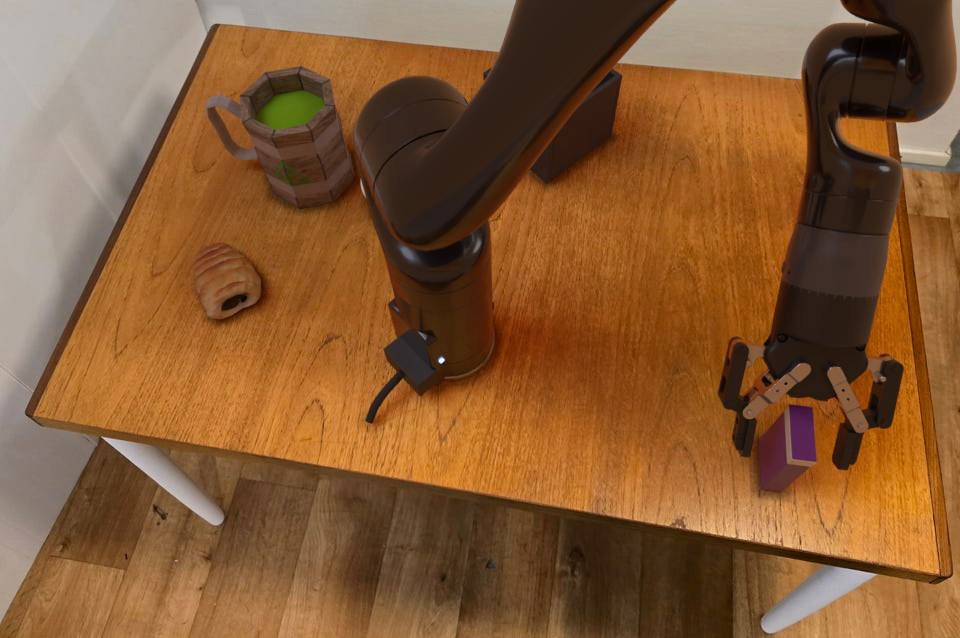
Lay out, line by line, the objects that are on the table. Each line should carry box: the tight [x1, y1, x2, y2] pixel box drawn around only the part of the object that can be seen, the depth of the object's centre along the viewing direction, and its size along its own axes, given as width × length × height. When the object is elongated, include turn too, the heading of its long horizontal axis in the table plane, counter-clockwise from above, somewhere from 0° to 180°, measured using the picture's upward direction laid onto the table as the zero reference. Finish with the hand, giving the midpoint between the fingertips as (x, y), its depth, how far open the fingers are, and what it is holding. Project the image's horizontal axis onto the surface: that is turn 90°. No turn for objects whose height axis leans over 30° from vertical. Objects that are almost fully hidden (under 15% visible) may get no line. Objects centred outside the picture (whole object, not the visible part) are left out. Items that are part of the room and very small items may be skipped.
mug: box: [205, 65, 356, 209], centre depth 86 cm, size 16×11×12 cm
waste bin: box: [482, 66, 623, 184], centre depth 89 cm, size 11×11×10 cm
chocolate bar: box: [758, 403, 818, 493], centre depth 68 cm, size 2×5×9 cm, turn 172°
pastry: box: [192, 241, 262, 320], centre depth 82 cm, size 9×7×4 cm
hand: (791, 459), depth 66 cm, fingers open, 8 cm apart
